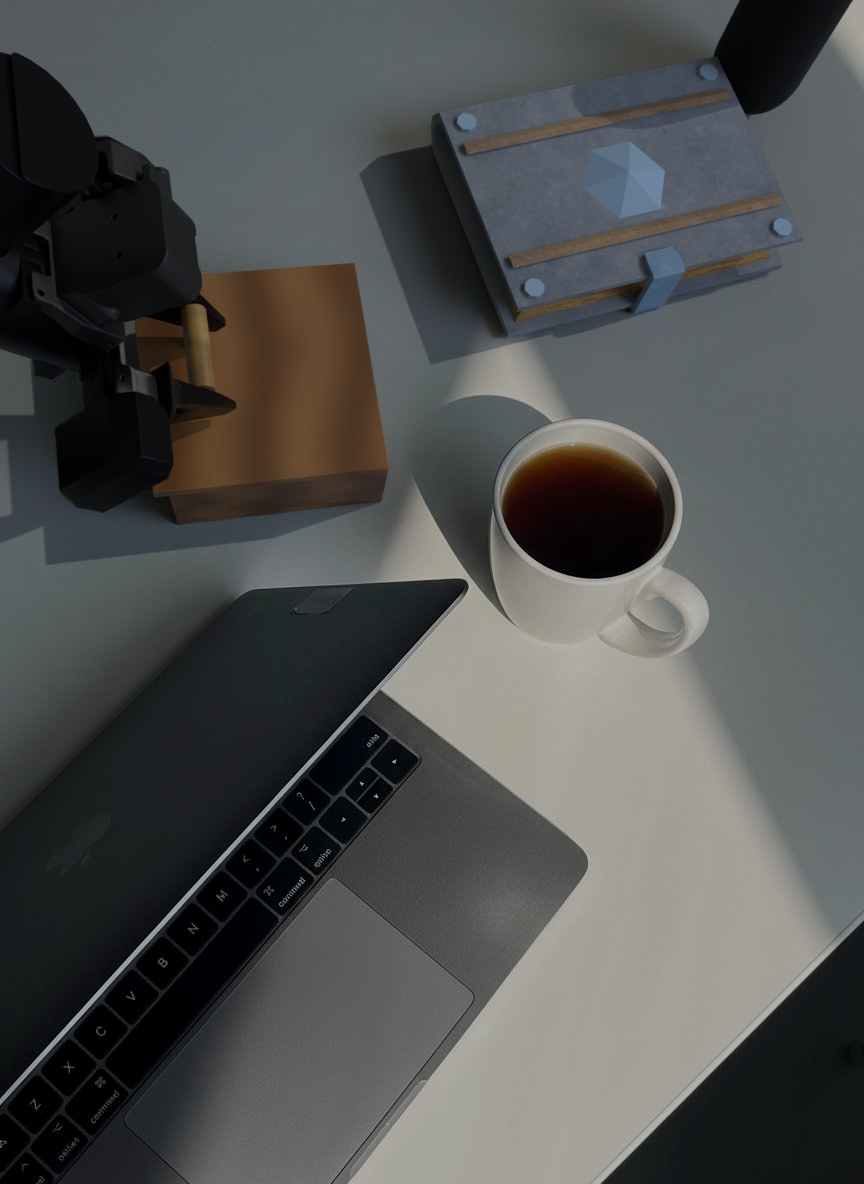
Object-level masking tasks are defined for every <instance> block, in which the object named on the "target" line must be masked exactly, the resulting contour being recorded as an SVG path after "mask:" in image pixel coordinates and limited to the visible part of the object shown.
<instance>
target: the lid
mask: <svg viewBox="0 0 864 1184" xmlns="http://www.w3.org/2000/svg"><path fill="white" fill-rule="evenodd" d="M357 273H358V272H357V268H356V263H355V262H347V263H335V264H322V265H307V266H296V267H295V266H294V267H292V266H291V267H283V268H282V267H281V268H268V269H267V268H266V269H253V270H242V271H228V272H213V273H201V274H202V288H201V291H200V294H201V295H202V296H203V297H204V298H205V299H206V300H207V301H208V302H209V303H210V304H211V305H212V306H213V307H214V308H215V309H216V310H217V311H218V312H219V313H220V314H221V315H222V316H223V317H224V318H225V320H226V326H225V327H223V328H222V329H220V330H218V331H217V332H209V329H208V321H207V313H206V309H205V307H204V306H202V305H200V304H188V305H185V306H183V307H182V308H181V311H180V312H181V321H182V326H178V325H174V324H170V323H167V322H163V321H159V320H155V319H152V318H148V317H142V318H139V319H136V320H133V321H134V328H135V338H136V339H135V340H136V348H137V359H138V365H139V367H138V368H139V371H142V372H145V373H150V372H152V371H153V370H155V369H156V368H158V367H159V366H161V365H163V364H164V363H166V362H169V363H170V364H171V368H172V371H173V375H174V378H175V379H177V380H181V381H184V382H187V383H190V384H193V385H196V386H199V387H202V388H205V389H208V390H211V391H214V392H217V393H220V394H222V395H224V396H226V397H228V398H230V399H232V400H234V401H236V405H237V408H236V409H235V410H233V411H231V412H230V413H228V414H225V415H220V416H215V417H209V418H203V419H197V420H191V421H185V422H180V423H174V424H170V432H171V441H172V450H173V459H174V465H173V468H172V470H171V472H170V475H169V477H168V479H167V480H165V481H163V482H161V483H159V484H157V485H155V486H153V487H152V488H151V489H152V494H153V497H154V498H162V497H163V498H165V497H169V496H174V495H183V494H192V493H201V492H211V491H220V490H229V489H238V488H247V487H256V486H265V485H275V484H284V483H293V482H302V481H311V480H320V479H329V478H339V477H348V476H357V475H366V474H375V473H384V472H388V473H389V471H390V462H389V456H388V451H387V445H386V440H385V438H386V437H385V433H384V427H383V421H382V416H381V410H380V409H381V408H380V404H379V398H378V392H377V386H376V381H375V374H374V368H373V363H372V362H373V361H372V357H371V351H370V344H369V339H368V332H367V328H366V327H367V326H366V321H365V315H364V309H363V302H362V297H361V291H360V286H359V280H358V274H357Z"/></svg>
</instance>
